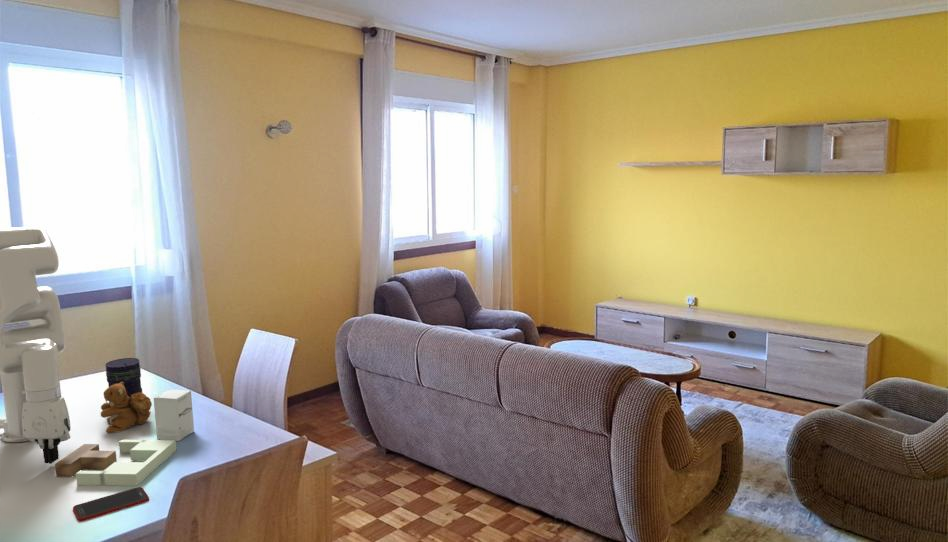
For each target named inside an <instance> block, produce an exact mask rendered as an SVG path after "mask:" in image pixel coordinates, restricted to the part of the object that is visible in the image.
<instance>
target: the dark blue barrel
mask: <svg viewBox="0 0 948 542" xmlns="http://www.w3.org/2000/svg"><path fill="white" fill-rule="evenodd" d="M141 373H142V372H141V364H140V359H139V358H136V357H125V358H117V359H114V360H110V361H108V362H106V363H105V376H106V381H107V383H108V385H107V386H108V387H110V386H112V385H114V384H119V383H120V382H124V387H125V389H126V393H127V395H128V396H129V397H131V395H133V394H135V393H139V392H140V393H143V388H142V384H141V383H142V382H141V377H142V374H141Z"/></svg>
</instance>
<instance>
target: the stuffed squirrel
mask: <svg viewBox="0 0 948 542" xmlns="http://www.w3.org/2000/svg"><path fill="white" fill-rule="evenodd" d="M103 398H104V400H105V402H104V403H102V404H101V405H100V409H101V411H100V417H101V418H104V419H105V418H106V422H107V423H108V424H110V425H109V426H107V428H106V429H105V432H106V434H111V433H116V432H122V431H125V430H128V429H129V428H131V427H132V426H134V425H135V426H139V425H143V424H145V422H147V421H148V420H149V418H150V416H151V408H152V404H153V403H152V401H151V398H150V397H148V396H147V395H146V394H145V393H144V392H142V393H140V392H139V393H135V394H133V395H131V397H129V396H128V395H127V393H126V389H125V387H124V382H120V383H119V384H114V385H112V386H110V387H109V386H108V387H107V388H106V389H105V390H104V391H103Z"/></svg>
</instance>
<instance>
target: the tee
mask: <svg viewBox="0 0 948 542" xmlns="http://www.w3.org/2000/svg"><path fill="white" fill-rule="evenodd" d="M114 462H118V461H117V451H116V450H100V444H98V443H84V444H82V445H80V446H79V447H78V448H76V449H75V450H73V451H72V452H71V453H69V454H67V455H66V456H64V457H63V458H61V459H60V460H59V461H58V460H57V462H56V463H54V468H55V477H56V478H73V477H74V476H76V475H75V474H76V473H77V472H79V471H80V470H81V471H104V470H105V469H107V468H108V467H109V466H110V465H112V464H113V463H114ZM72 476H73V477H72Z"/></svg>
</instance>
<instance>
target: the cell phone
mask: <svg viewBox="0 0 948 542" xmlns="http://www.w3.org/2000/svg"><path fill="white" fill-rule="evenodd" d="M148 501H150V498H149V495H148V494H147V492H146V491H145V490H144V489H143V487H141V486H139V487H137V486H136V487H133V488H130V489H127V490H123V491H120V492H116V493H113V494H109V495H106V496H103V497H99V498H96V499H92V500H90V501H89V500H88V501H85V502H82V503H78V504H76V505H73V507H72V511H73V514H74V515H75V518H76V520H77V521H78V522H83V521H87V520H92V519H95V518H97V517H101V516H104V515H107V514H110V513H113V512H117V511H120V510H123V509H126V508H130V507H133V506H136V505H137V506H138V505H141V504H144V503H147V502H148Z"/></svg>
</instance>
